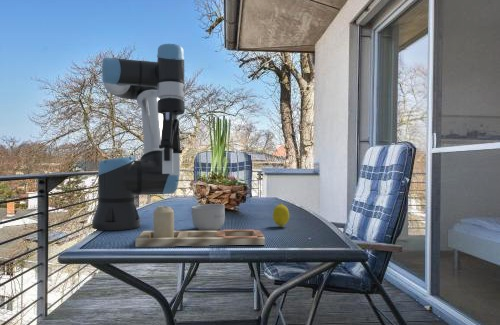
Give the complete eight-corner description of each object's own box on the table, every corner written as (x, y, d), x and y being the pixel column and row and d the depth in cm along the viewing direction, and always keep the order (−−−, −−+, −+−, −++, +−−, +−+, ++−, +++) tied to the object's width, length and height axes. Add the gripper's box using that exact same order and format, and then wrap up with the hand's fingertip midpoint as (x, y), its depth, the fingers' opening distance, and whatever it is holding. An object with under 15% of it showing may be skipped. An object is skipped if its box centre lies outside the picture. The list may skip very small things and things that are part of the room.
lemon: (291, 226, 140) (292, 203, 140) (284, 229, 135) (284, 205, 135) (277, 225, 143) (277, 202, 143) (269, 227, 138) (270, 203, 138)
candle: (177, 240, 114) (177, 205, 114) (167, 244, 109) (167, 207, 109) (160, 239, 116) (160, 204, 116) (149, 243, 111) (149, 206, 111)
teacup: (219, 233, 126) (219, 207, 126) (186, 232, 128) (186, 206, 128) (230, 226, 140) (230, 203, 140) (200, 225, 142) (200, 202, 142)
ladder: (135, 246, 106) (135, 238, 106) (143, 237, 118) (143, 229, 118) (265, 245, 109) (265, 237, 109) (260, 237, 121) (260, 229, 121)
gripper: (178, 89, 103) (179, 172, 102) (189, 108, 128) (189, 175, 127) (148, 89, 103) (148, 173, 102) (165, 108, 128) (165, 175, 127)
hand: (171, 174), depth 114 cm, fingers open, 13 cm apart
